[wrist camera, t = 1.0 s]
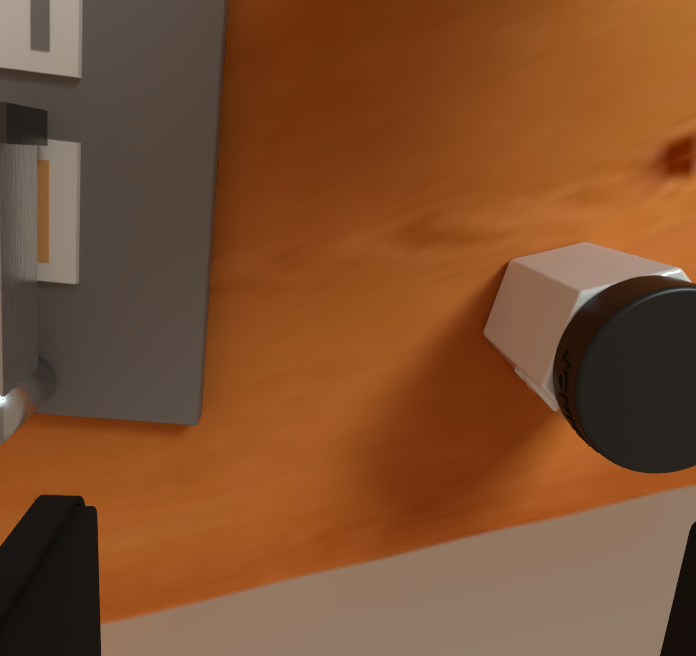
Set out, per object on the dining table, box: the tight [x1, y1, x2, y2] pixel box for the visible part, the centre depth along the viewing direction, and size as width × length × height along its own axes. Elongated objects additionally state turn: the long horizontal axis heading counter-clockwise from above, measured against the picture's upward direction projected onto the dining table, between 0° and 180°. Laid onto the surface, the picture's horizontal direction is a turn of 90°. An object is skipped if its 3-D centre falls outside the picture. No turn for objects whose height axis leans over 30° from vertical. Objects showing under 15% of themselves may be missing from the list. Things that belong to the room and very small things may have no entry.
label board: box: [0, 0, 228, 425], centre depth 32 cm, size 26×18×2 cm
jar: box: [483, 242, 696, 473], centre depth 31 cm, size 9×8×12 cm
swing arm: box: [0, 102, 56, 445], centre depth 30 cm, size 15×3×5 cm, turn 173°
